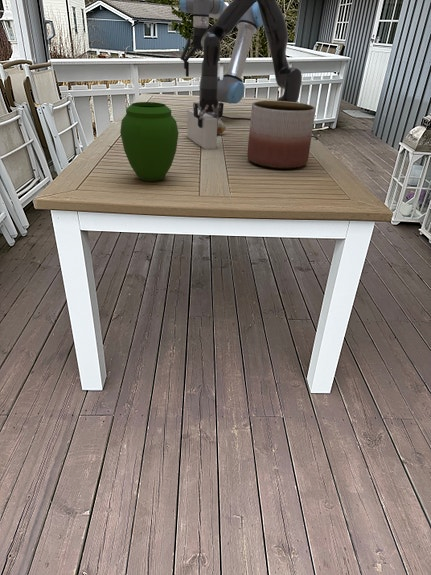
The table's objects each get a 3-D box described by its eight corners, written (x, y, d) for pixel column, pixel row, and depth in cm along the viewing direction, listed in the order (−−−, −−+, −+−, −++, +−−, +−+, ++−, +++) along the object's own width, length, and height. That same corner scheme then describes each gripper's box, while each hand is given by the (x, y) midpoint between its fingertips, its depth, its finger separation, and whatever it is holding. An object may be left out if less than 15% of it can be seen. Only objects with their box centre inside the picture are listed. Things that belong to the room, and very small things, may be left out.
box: (187, 137, 206) (187, 109, 199) (198, 136, 208) (198, 109, 201) (204, 148, 187) (205, 119, 180) (216, 148, 189) (217, 118, 182)
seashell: (224, 133, 216) (225, 117, 212) (226, 135, 212) (227, 119, 207) (206, 132, 215) (207, 116, 211) (208, 135, 210) (208, 118, 206)
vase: (131, 189, 135) (125, 110, 122) (118, 172, 150) (112, 100, 137) (186, 184, 142) (187, 109, 129) (169, 168, 157) (167, 99, 144)
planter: (316, 170, 164) (326, 111, 152) (255, 170, 160) (260, 110, 148) (295, 154, 185) (303, 101, 173) (241, 154, 181) (245, 99, 169)
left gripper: (178, 26, 190) (178, 77, 202) (227, 28, 198) (225, 77, 209) (173, 25, 196) (174, 75, 208) (222, 28, 204) (220, 76, 215)
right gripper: (196, 88, 172) (195, 129, 181) (227, 88, 177) (225, 128, 186) (190, 86, 178) (190, 126, 187) (220, 86, 183) (219, 125, 192)
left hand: (199, 76), depth 209 cm, fingers open, 13 cm apart
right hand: (207, 127), depth 186 cm, fingers open, 6 cm apart
